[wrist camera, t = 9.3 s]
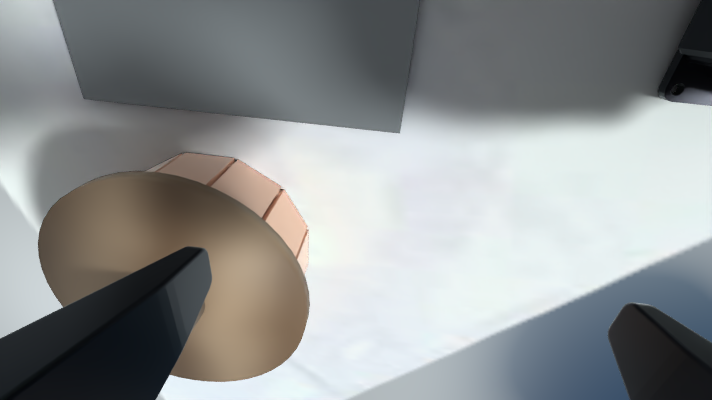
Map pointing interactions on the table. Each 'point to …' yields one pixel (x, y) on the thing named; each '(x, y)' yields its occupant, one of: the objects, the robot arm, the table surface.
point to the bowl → (245, 194)
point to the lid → (169, 234)
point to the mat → (248, 57)
